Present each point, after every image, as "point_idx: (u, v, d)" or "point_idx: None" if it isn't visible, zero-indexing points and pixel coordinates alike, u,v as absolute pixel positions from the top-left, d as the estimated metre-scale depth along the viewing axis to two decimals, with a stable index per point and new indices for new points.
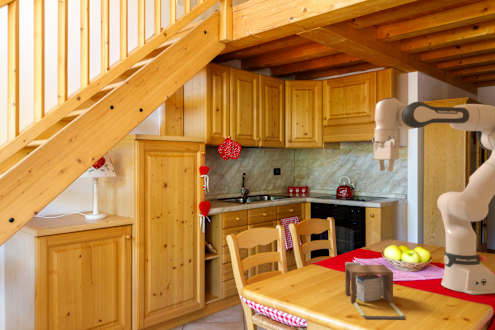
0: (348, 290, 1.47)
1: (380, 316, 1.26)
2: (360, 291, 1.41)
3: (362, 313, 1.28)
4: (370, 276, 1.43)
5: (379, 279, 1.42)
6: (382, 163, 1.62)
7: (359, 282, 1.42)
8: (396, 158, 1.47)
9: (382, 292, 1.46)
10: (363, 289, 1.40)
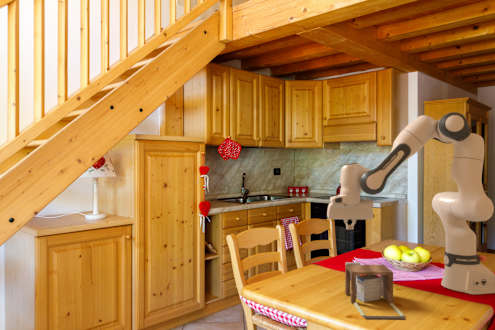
0: (348, 290, 1.47)
1: (380, 316, 1.26)
2: (360, 291, 1.41)
3: (362, 313, 1.28)
4: (370, 276, 1.43)
5: (379, 279, 1.42)
6: None
7: (359, 282, 1.42)
8: None
9: (382, 292, 1.46)
10: (363, 289, 1.40)
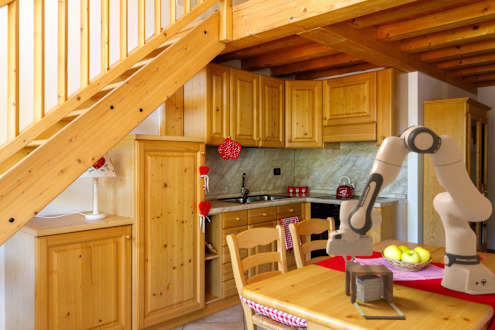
0: (348, 290, 1.47)
1: (380, 316, 1.26)
2: (360, 291, 1.41)
3: (362, 313, 1.28)
4: (370, 276, 1.43)
5: (379, 279, 1.42)
6: (345, 258, 1.72)
7: (359, 282, 1.42)
8: None
9: (382, 292, 1.46)
10: (363, 289, 1.40)
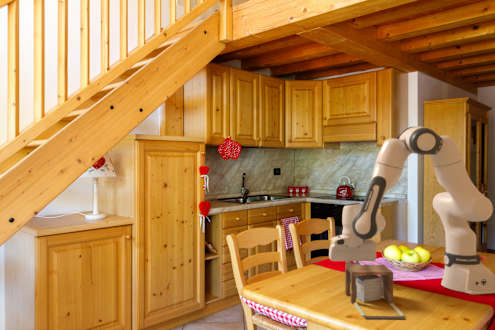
0: (348, 290, 1.47)
1: (380, 316, 1.26)
2: (360, 291, 1.41)
3: (362, 313, 1.28)
4: (370, 276, 1.43)
5: (379, 279, 1.42)
6: None
7: (359, 282, 1.42)
8: None
9: (382, 292, 1.46)
10: (363, 289, 1.40)
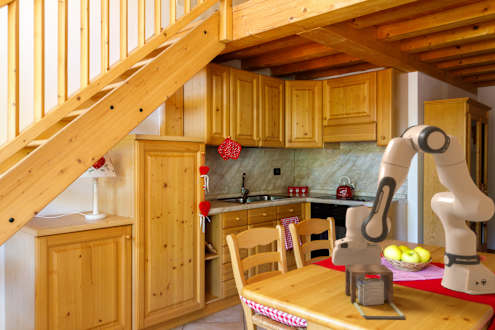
0: (348, 290, 1.47)
1: (380, 316, 1.26)
2: (361, 294, 1.38)
3: (362, 313, 1.28)
4: (372, 279, 1.39)
5: (381, 283, 1.37)
6: None
7: (360, 285, 1.39)
8: None
9: None
10: (363, 292, 1.37)
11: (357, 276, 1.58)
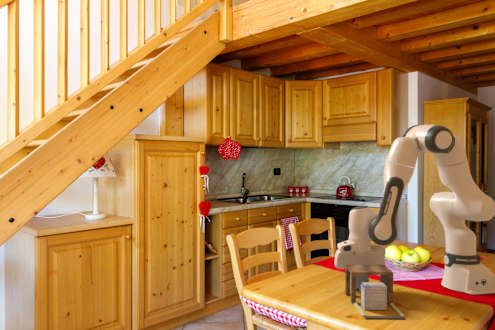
0: (348, 290, 1.47)
1: (380, 316, 1.26)
2: (362, 298, 1.34)
3: (362, 313, 1.28)
4: (375, 284, 1.34)
5: (384, 288, 1.32)
6: None
7: (362, 289, 1.35)
8: None
9: None
10: (363, 296, 1.33)
11: (360, 280, 1.53)
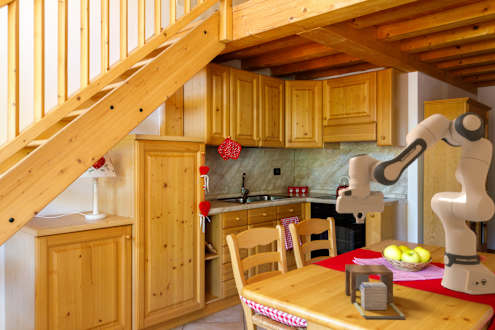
0: (348, 290, 1.47)
1: (380, 316, 1.26)
2: (362, 298, 1.34)
3: (362, 313, 1.28)
4: (375, 284, 1.34)
5: (384, 288, 1.32)
6: None
7: (362, 289, 1.35)
8: None
9: None
10: (363, 296, 1.33)
11: (360, 280, 1.53)
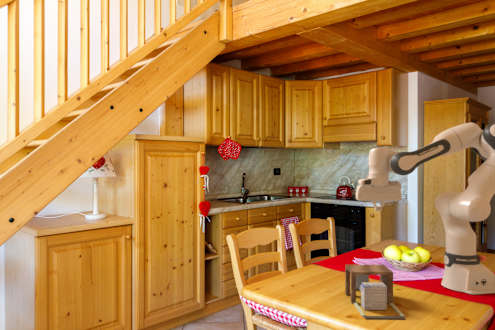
0: (348, 290, 1.47)
1: (380, 316, 1.26)
2: (362, 298, 1.34)
3: (362, 313, 1.28)
4: (375, 284, 1.34)
5: (384, 288, 1.32)
6: None
7: (362, 289, 1.35)
8: None
9: None
10: (363, 296, 1.33)
11: (360, 280, 1.53)
